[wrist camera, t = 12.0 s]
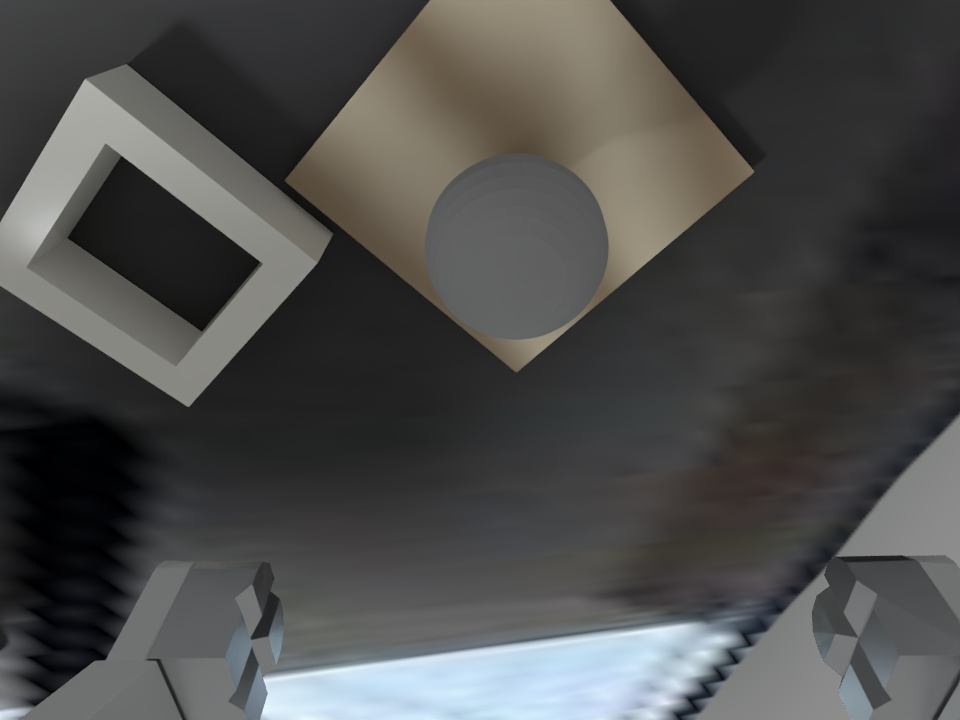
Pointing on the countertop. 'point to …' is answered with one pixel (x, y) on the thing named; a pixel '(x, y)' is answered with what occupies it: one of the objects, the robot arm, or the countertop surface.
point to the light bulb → (516, 246)
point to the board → (519, 135)
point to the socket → (189, 177)
